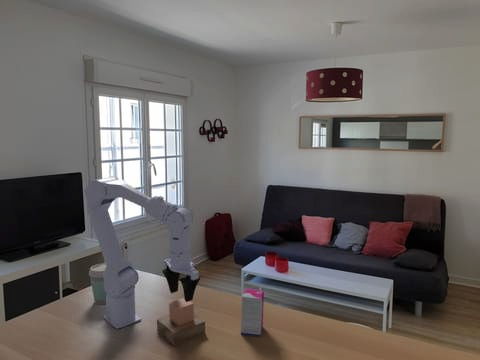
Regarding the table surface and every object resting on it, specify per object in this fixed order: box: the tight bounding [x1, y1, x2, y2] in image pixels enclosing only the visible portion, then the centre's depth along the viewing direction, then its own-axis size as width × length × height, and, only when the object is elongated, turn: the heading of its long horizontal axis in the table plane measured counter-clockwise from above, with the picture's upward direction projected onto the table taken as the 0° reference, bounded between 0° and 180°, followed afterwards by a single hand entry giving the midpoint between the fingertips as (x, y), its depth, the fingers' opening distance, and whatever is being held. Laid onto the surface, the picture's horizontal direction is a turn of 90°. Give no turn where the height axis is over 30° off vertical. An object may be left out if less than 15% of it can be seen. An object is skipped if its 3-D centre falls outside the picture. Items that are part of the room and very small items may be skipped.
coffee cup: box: [88, 262, 107, 306], centre depth 129 cm, size 8×9×12 cm
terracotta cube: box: [168, 297, 195, 326], centre depth 110 cm, size 5×5×5 cm
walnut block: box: [156, 313, 206, 347], centre depth 110 cm, size 10×10×4 cm
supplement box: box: [240, 288, 265, 337], centre depth 110 cm, size 6×6×12 cm
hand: (181, 296), depth 110 cm, fingers open, 7 cm apart
